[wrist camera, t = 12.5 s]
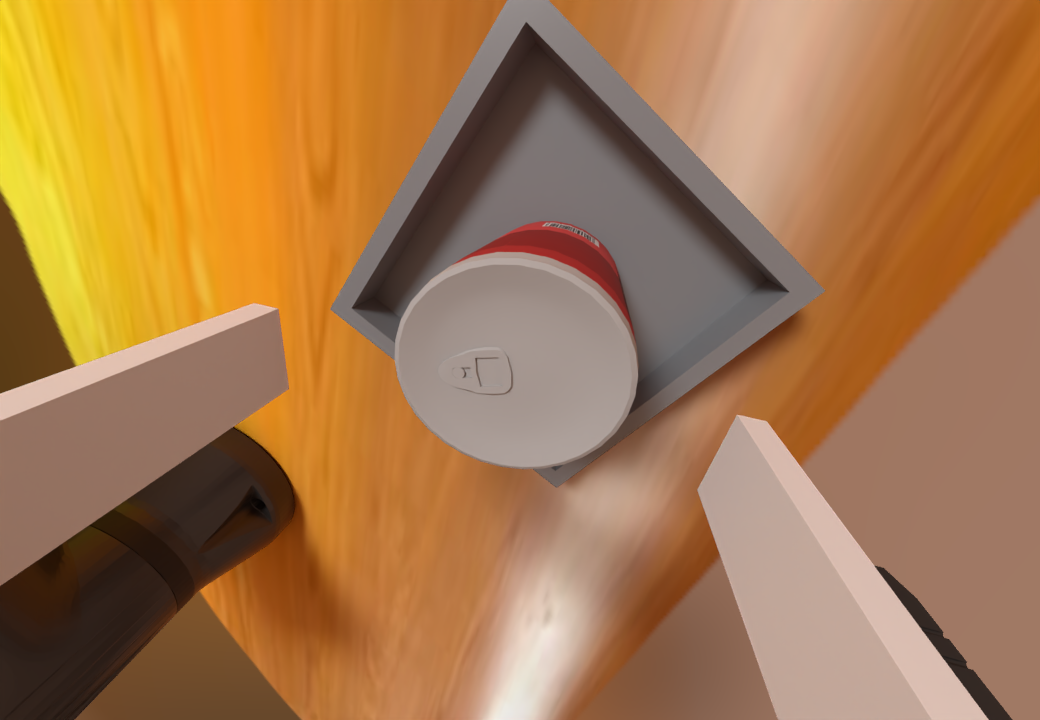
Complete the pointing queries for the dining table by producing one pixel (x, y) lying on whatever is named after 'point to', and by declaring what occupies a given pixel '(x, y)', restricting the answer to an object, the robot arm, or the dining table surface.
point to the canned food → (522, 349)
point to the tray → (580, 210)
